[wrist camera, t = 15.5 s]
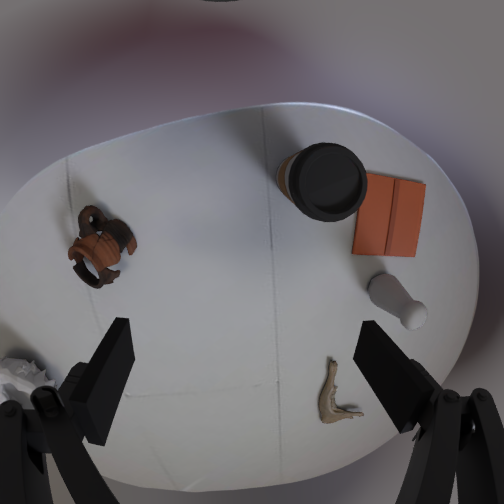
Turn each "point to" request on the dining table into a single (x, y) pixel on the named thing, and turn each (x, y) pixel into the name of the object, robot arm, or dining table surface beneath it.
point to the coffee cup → (324, 181)
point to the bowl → (20, 380)
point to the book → (389, 217)
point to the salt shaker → (397, 301)
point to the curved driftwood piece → (332, 400)
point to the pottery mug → (100, 246)
